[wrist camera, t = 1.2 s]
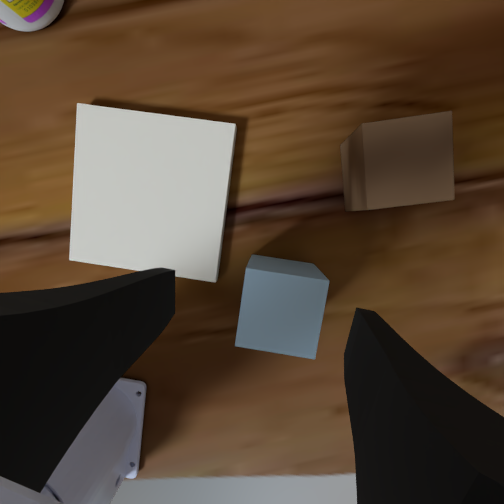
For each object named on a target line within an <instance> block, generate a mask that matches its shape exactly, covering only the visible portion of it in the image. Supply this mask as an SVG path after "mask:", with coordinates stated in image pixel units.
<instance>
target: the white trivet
mask: <svg viewBox="0 0 504 504" xmlns="http://www.w3.org/2000/svg"><path fill="white" fill-rule="evenodd" d="M236 133H237V127H236V124H233V123H225V122H217V121H210V120H202V119H194V118H187V117H179V116H171V115H164V114H156V113H148V112H141V111H133V110H126V109H118V108H110V107H103V106H95V105H87V104H80V103H77V117H76V137H75V157H74V177H73V197H72V217H71V237H70V257H69V260H73V261H79V262H86V263H92V264H99V265H105V266H111V267H118V268H124V269H131V270H137V271H143V270H148V269H153V268H161V267H162V268H167V269H172V270H175V276H176V277H183V278H189V279H196V280H202V281H209V282H216V281H217V280H218V274H219V266H220V258H221V250H222V242H223V235H224V227H225V219H226V211H227V203H228V195H229V188H230V180H231V172H232V164H233V156H234V148H235V141H236Z"/></svg>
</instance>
